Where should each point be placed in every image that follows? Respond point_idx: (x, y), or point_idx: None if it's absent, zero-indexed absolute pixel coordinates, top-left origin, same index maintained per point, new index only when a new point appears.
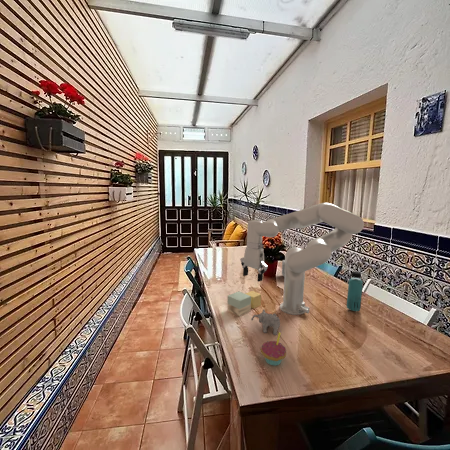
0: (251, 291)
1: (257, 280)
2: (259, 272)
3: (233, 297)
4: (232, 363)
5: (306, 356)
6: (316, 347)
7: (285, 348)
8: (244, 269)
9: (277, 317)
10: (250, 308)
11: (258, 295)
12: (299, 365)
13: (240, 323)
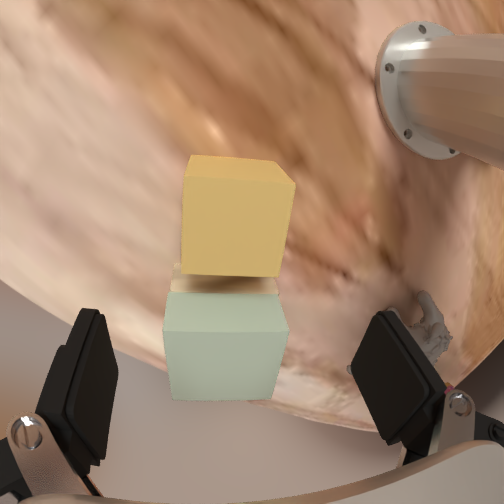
0: (189, 196)
1: (352, 373)
2: (412, 450)
3: (214, 397)
4: (354, 426)
5: (477, 327)
6: (498, 287)
7: (454, 389)
8: (104, 456)
9: (447, 343)
10: (273, 280)
11: (289, 220)
12: (462, 353)
13: (293, 359)
